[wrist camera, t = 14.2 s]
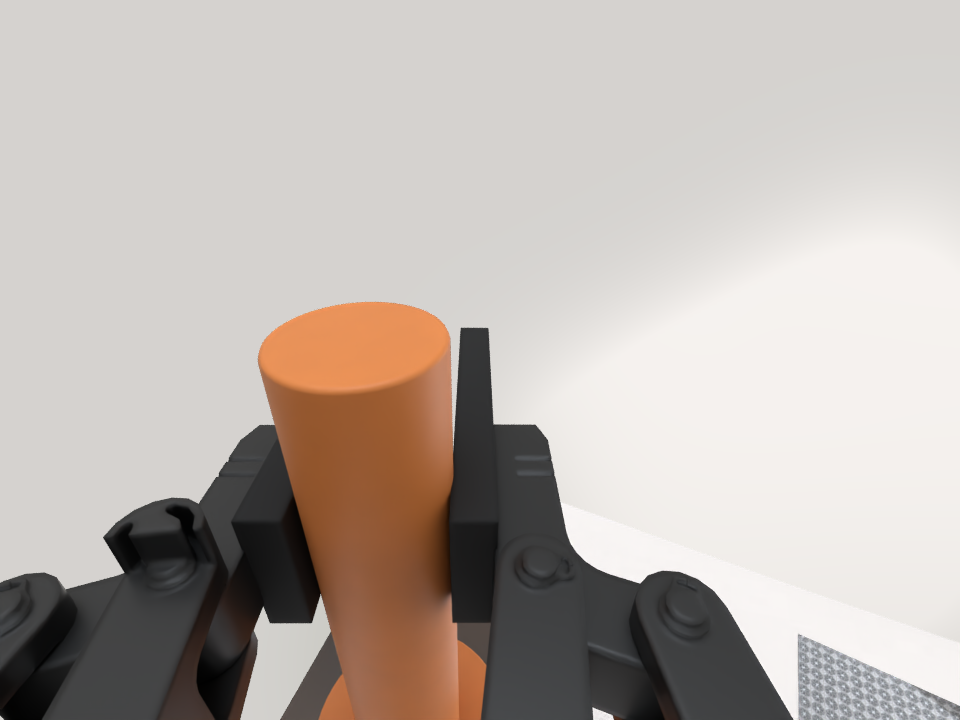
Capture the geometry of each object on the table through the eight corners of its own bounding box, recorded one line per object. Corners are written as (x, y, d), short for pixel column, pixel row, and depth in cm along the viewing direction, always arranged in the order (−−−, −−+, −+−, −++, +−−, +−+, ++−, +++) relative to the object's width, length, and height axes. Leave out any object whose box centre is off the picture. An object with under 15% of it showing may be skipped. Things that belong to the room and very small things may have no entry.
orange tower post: (401, 975, 12) (235, 579, 3) (303, 781, 15) (94, 333, 6) (535, 785, 15) (620, 340, 6) (431, 659, 18) (398, 254, 10)
